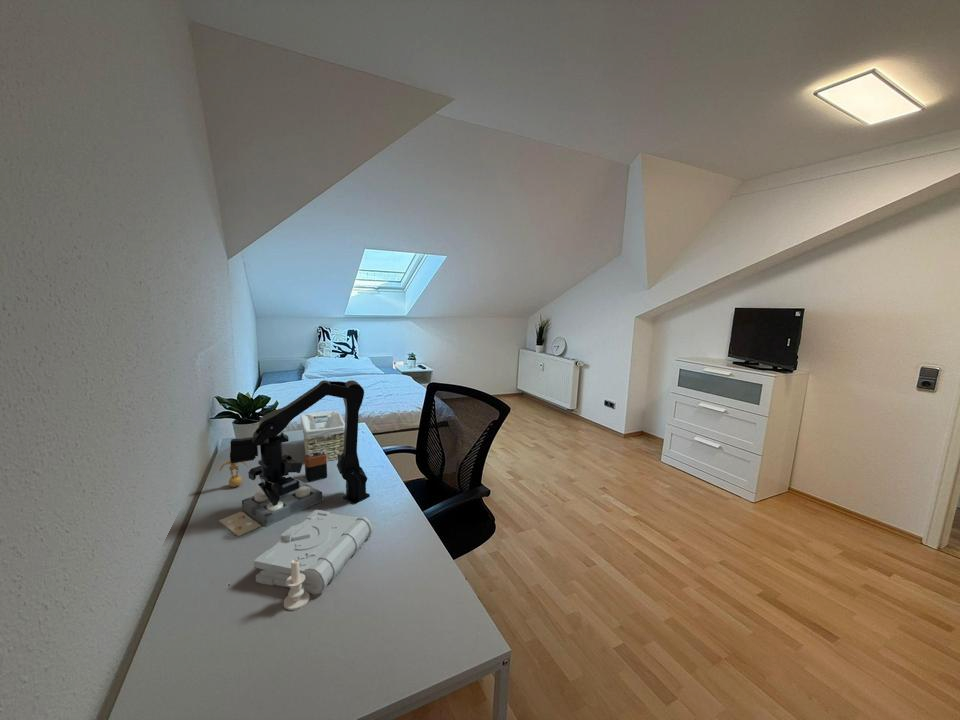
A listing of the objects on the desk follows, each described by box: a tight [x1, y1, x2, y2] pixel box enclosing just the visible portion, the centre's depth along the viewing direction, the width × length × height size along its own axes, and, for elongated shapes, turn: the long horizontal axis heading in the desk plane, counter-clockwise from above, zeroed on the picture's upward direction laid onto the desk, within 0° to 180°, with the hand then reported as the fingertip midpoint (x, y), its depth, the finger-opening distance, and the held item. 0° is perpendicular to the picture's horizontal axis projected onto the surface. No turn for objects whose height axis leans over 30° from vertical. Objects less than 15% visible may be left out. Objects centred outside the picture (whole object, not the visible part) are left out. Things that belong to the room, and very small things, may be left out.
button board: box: [241, 478, 324, 527], centre depth 123 cm, size 15×18×3 cm
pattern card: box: [219, 511, 261, 537], centre depth 112 cm, size 12×6×1 cm, turn 56°
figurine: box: [219, 459, 249, 488], centre depth 132 cm, size 8×6×12 cm
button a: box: [295, 486, 310, 499], centre depth 124 cm, size 4×4×2 cm
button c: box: [267, 501, 283, 512], centre depth 117 cm, size 4×4×2 cm
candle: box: [283, 559, 311, 611], centre depth 84 cm, size 5×5×10 cm
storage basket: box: [300, 410, 345, 462], centre depth 163 cm, size 24×16×15 cm
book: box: [253, 509, 373, 596], centre depth 101 cm, size 19×28×8 cm
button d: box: [253, 489, 269, 503], centre depth 121 cm, size 4×4×2 cm
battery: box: [303, 450, 328, 483], centre depth 141 cm, size 4×7×10 cm, turn 127°
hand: (275, 505), depth 117 cm, fingers closed, pressing on button c
